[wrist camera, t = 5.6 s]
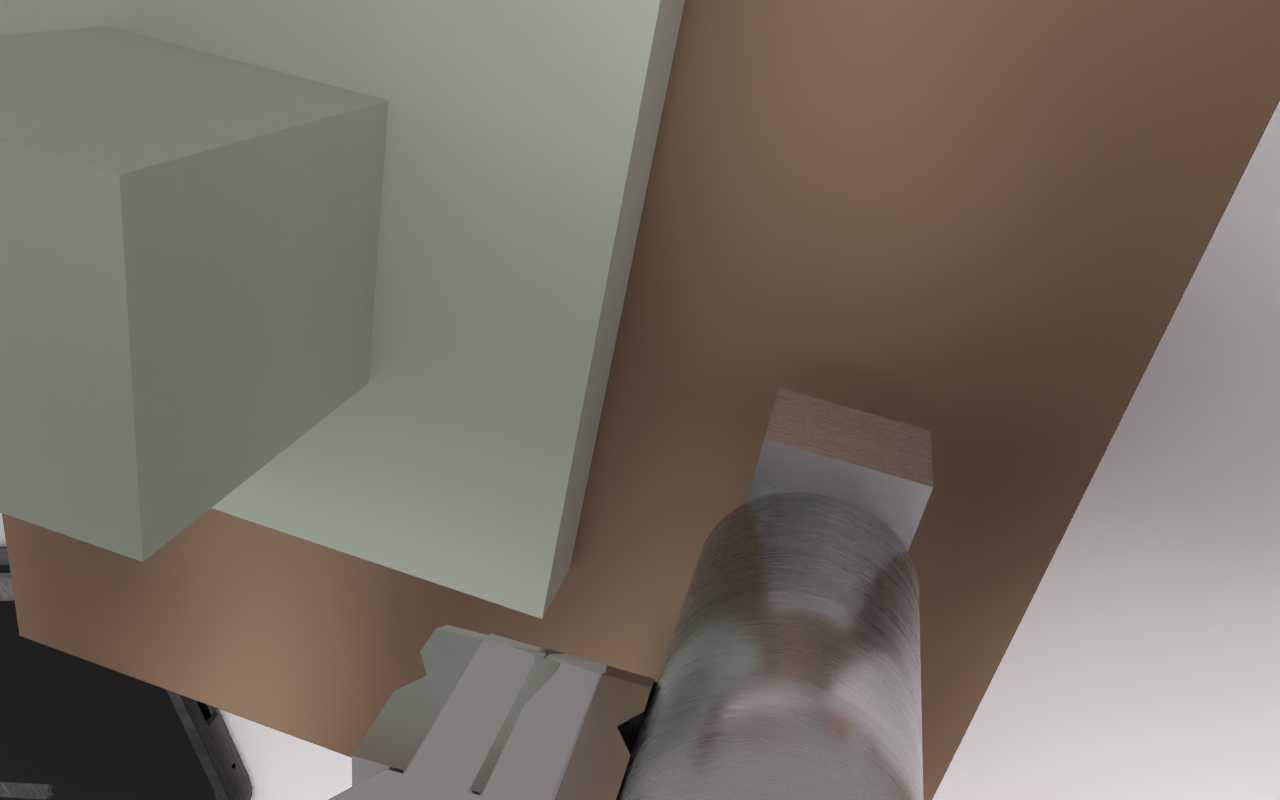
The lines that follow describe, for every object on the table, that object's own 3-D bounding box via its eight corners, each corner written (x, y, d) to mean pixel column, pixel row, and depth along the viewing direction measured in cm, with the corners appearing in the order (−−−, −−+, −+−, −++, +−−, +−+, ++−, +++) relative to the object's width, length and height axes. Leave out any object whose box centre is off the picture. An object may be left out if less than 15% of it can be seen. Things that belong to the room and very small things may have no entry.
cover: (36, 394, 15) (-343, 585, 10) (-41, -286, 11) (-724, -461, 6) (569, 567, 14) (403, 869, 9) (709, -124, 10) (534, -194, 5)
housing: (134, 547, 20) (-47, 685, 16) (45, -807, 11) (-412, -1213, 7) (866, 800, 18) (855, 1028, 14) (1506, -619, 9) (1959, -1051, 5)
